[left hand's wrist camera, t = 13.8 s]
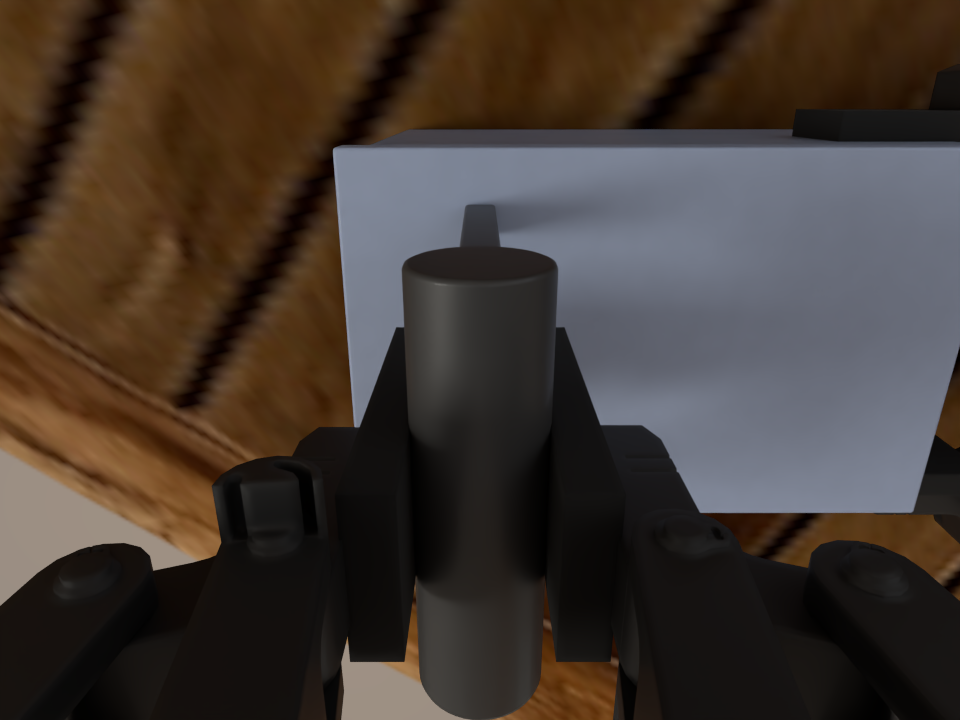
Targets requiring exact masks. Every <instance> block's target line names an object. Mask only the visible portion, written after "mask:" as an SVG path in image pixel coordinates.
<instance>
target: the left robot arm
mask: <svg viewBox="0 0 960 720" xmlns="http://www.w3.org/2000/svg"><path fill="white" fill-rule="evenodd" d="M212 490H213V496H214V502H215V508H216V513H217V519H218V525H219V531H220V537H221V545H220V547H219V550H218V552H217V555H216V556H213V557H211V558H208V559H204V560H201V561H197V562H194V563H189V564H184V565H179V566H174V567H170V568H165V569H160V570H155V571H153V568H152V564H151V559H150V556H149V555H148V554H147V553H146V552H145V551H144V550H143V549H142V548H141V547H138V546H134V545H129V544H126V543H115V544H101V545H95V546H93V547H87V548H84V549H80V550H78V551H76V552H73V553H71V554H69V555H67V556H64V557H62V558H60V559H57V560H56V561H54V562H53V563H52V564H50V565H49V566H47V567H46V568H44V569H43V570H41V571H40V572H38V573H37V574H36V575H35V576H34V577H33V578H31V579H30V580H29V581H28V582H27V583H26V584H25V585H24V586H22V587H21V588H20V589H19V590H18V591H17V592H16V593H14V594H13V595H12V596H11V597H10V598H9V599H8V600H7V601H5V602H4V603H3V604H2V605H1V606H0V720H341V715H342V705H343V695H344V687H343V676H342V666H341V661H342V657H343V653H344V649H345V645H346V641H347V637H348V644H349V654H350V662H404V661H405V653H406V646H407V638H408V631H409V623H410V616H411V608H412V601H413V593H414V586H415V579H416V565H415V543H414V520H413V497H412V474H411V451H410V428H409V424H408V402H407V380H406V357H405V335H404V327H396V329H395V332H394V335H393V337H392V340H391V343H390V345H389V348H388V351H387V354H386V356H385V359H384V362H383V365H382V367H381V370H380V373H379V375H378V378H377V381H376V384H375V386H374V389H373V392H372V394H371V397H370V400H369V403H368V405H367V408H366V411H365V414H364V416H363V419H362V422H361V424H360V427H319V428H317V429H316V430H315V431H313V432H312V433H311V434H309V435H308V436H306V437H305V438H304V439H302V440H301V441H300V442H299V444H298V446H297V448H296V450H295V452H294V454H293V455H292V457H291V456H273V457H266V458H259V459H255V460H252V461H249V462H246V463H243V464H240V465H237V466H235V467H234V468H232V469H230V470H229V471H227V472H225V473H223V474H222V475H221V476H220V477H219V478H218V479H217V480H216V482H215V483H214V484H213V485H212ZM545 581H546V588H547V596H548V603H549V611H550V618H551V626H552V633H553V640H554V648H555V655H556V662H610V661H611V651H612V640H613V634H614V639H615V643H616V647H617V651H618V655H619V666H618V676H617V686H616V696H615V706H614V716H613V720H960V601H959V600H958V599H957V598H955V597H954V596H953V595H952V594H951V593H950V592H949V591H947V590H946V589H945V588H944V587H943V586H942V585H941V584H939V583H938V582H937V581H936V580H935V579H934V578H933V577H931V576H930V575H929V574H928V573H927V572H926V571H925V570H923V569H922V568H920V567H919V566H917V565H916V564H915V563H913V562H912V561H910V560H909V559H907V558H906V557H904V556H902V555H899V554H897V553H895V552H893V551H890V550H888V549H886V548H884V547H881V546H878V545H874V544H869V543H866V542H860V541H843V540H836V541H832V542H828V543H824V544H821V545H820V546H819V547H817V548H816V549H815V550H814V551H813V552H812V553H811V558H810V562H809V567H808V568H805V567H800V566H795V565H790V564H786V563H781V562H776V561H771V560H767V559H763V558H759V557H756V556H752V555H750V554H747V553H745V552H743V551H742V549H741V546H740V544H739V542H738V540H737V539H736V537H735V536H734V535H733V533H732V532H731V531H730V529H728V528H727V527H725V526H724V525H722V524H721V523H720V522H718V521H717V520H715V519H713V518H711V517H708V516H705V515H703V514H700V512H699V510H698V508H697V506H696V504H695V502H694V500H693V498H692V497H691V495H690V493H689V491H688V489H687V487H686V485H685V483H684V481H683V480H682V478H681V476H680V474H679V472H677V468H676V466H675V465H674V463H673V461H672V459H671V458H670V455H669V453H668V451H667V449H666V448H665V446H664V444H663V442H662V440H661V439H660V438H659V437H657V436H656V435H655V434H653V433H652V432H651V431H649V430H648V429H647V428H645V427H644V426H642V425H600V422H599V420H598V417H597V414H596V411H595V409H594V406H593V403H592V401H591V398H590V395H589V392H588V390H587V387H586V384H585V382H584V379H583V376H582V373H581V371H580V368H579V365H578V363H577V360H576V357H575V354H574V352H573V349H572V346H571V343H570V341H569V338H568V335H567V333H566V330H565V327H556V336H555V359H554V382H553V405H552V425H551V439H550V462H549V485H548V508H547V531H546V554H545Z"/></svg>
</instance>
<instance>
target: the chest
mask: <svg viewBox="0 0 960 720" xmlns="http://www.w3.org/2000/svg"><path fill="white" fill-rule="evenodd" d="M792 132H793V129H610V130H407V131H404V132H401V133H399V134H396V135H394V136H391V137H389V138H386V139H384V140H381V141H379V142H376V143H374V144H371V145H960V142H836V141H828V140H819V139H811V138H802V137H794V136H792Z"/></svg>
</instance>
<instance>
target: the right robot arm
mask: <svg viewBox="0 0 960 720" xmlns="http://www.w3.org/2000/svg"><path fill="white" fill-rule="evenodd" d="M792 136H794V137H802V138H811V139H819V140H828V141H836V142H960V64H957V65H955V66H952V67H950V68H947V69H945V70H942V71H939V72H937V77H936V81H935V85H934V90H933V94H932V98H931V103H930V107H929V110H855V109H796V114H795V120H794V126H793V132H792ZM875 514H934V519H935V521H936V522H937V523H938V524H939V525H941V526H942V527H943V528H944V529H945V530H946V531H947V532H948V533H949V534H950V535H951V536H952V537H953V538H954V539H955V540H956V541H957V542H958V543H960V447H959V448H957V449H954V448H952V447H951V446H950V445H948V444H947V443H946V442H944V441H943V440H942V439H940V438H939V437H938V436H936V435H935V436H934V440H933V443H932V447H931V450H930V454H929V457H928V461H927V465H926V468H925V472H924V475H923V479H922V482H921V486H920V490H919V493H918V497H917V500H916V504H915V507H914V511H913V512H911V513H875Z"/></svg>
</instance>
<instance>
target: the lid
mask: <svg viewBox="0 0 960 720" xmlns="http://www.w3.org/2000/svg"><path fill="white" fill-rule="evenodd" d="M333 158H334V171H335V184H336V196H337V209H338V222H339V235H340V248H341V261H342V273H343V286H344V299H345V312H346V325H347V337H348V350H349V363H350V376H351V389H352V402H353V414H354V427H360V424H361V422H362V419H363V416H364V414H365V411H366V408H367V405H368V403H369V400H370V397H371V394H372V392H373V389H374V386H375V384H376V381H377V378H378V375H379V373H380V370H381V367H382V365H383V362H384V359H385V356H386V354H387V351H388V348H389V345H390V343H391V340H392V337H393V335H394V332H395V329H396V327H404V335H405V357H406V380H407V402H408V424H409V428H410V451H411V474H412V497H413V520H414V543H415V565H416V579H415V581H416V603H417V626H418V648H419V670H420V679H421V682H422V685H423V687H424V689H425V691H426V693H427V694H428V695H429V697H430V698H431V700H432V701H433V702H434V703H435V704H436V705H438V706H439V707H440V708H441V709H443V710H445V711H446V712H448V713H450V714H452V715H455V716H458V717H461V718H465V719H471V720H490V719H496V718H500V717H503V716H506V715H508V714H510V713H513V712H514V711H516V710H518V709H519V708H520V707H522V706H523V705H524V704H525V703H526V702H527V701H528V700H529V699H530V698H531V696H532V695H533V693H534V692H535V690H536V688H537V686H538V684H539V681H540V676H541V660H542V637H543V614H544V590H545V554H546V531H547V508H548V485H549V462H550V439H551V425H552V405H553V382H554V359H555V336H556V327H565V330H566V333H567V335H568V338H569V341H570V343H571V346H572V349H573V352H574V354H575V357H576V360H577V363H578V365H579V368H580V371H581V373H582V376H583V379H584V382H585V384H586V387H587V390H588V392H589V395H590V398H591V401H592V403H593V406H594V409H595V411H596V414H597V417H598V420H599V422H600V425H642V426H644V427H645V428H647V429H648V430H649V431H651V432H652V433H653V434H655V435H656V436H657V437H659V438H660V439H661V440H662V442H663V444H664V446H665V448H666V449H667V451H668V453H669V455H670V458H671V459H672V461H673V463H674V465H675V466H676V468H677V472H679V474H680V476H681V478H682V480H683V481H684V483H685V485H686V487H687V489H688V491H689V493H690V495H691V497H692V498H693V500H694V502H695V504H696V506H697V508H698V510H699V512H700V513H911V512H913V511H914V507H915V504H916V500H917V497H918V493H919V490H920V486H921V482H922V479H923V475H924V472H925V468H926V465H927V461H928V457H929V454H930V450H931V447H932V443H933V440H934V436H935V432H936V429H937V425H938V422H939V418H940V415H941V411H942V408H943V404H944V400H945V397H946V393H947V390H948V386H949V383H950V379H951V375H952V372H953V368H954V365H955V361H956V358H957V354H958V350H959V347H960V145H342V146H339V147H336V148H334V150H333Z"/></svg>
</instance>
